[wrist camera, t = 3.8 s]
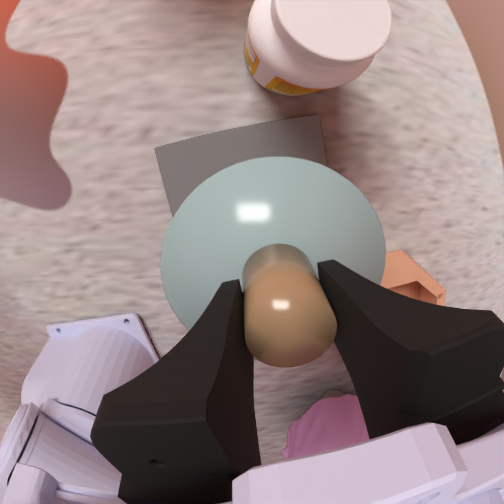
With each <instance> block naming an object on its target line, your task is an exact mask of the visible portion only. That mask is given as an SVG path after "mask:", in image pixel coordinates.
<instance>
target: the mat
mask: <svg viewBox="0 0 504 504" xmlns="http://www.w3.org/2000/svg"><path fill="white" fill-rule="evenodd" d="M154 149H155V153H156V157H157V161H158V165H159V169H160V172H161V176H162V180H163V184H164V187H165V191H166V195H167V198H168V202H169V205H170V209H171V212H172V216H173V217H174V215H175V213H176V212H177V210H178V208H179V207H180V205H181V204H182V203H183V201H184V200H185V198H186V197H187V196H188V195H189V194H190V193H191V192H192V190H193V189H194V188H195V187H196V186H197V185H199V184H200V183H201V182H202V181H204V180H205V179H206V178H207V177H208V176H210V175H212V174H213V173H215V172H217V171H218V170H220V169H222V168H224V167H226V166H228V165H231V164H233V163H235V162H238V161H241V160H245V159H249V158H252V157H259V156H266V155H288V156H295V157H302V158H305V159H309V160H312V161H315V162H318V163H320V164H322V165H324V166H327V162H326V155H325V148H324V142H323V136H322V129H321V123H320V117H319V115H310V116H303V117H296V118H290V119H283V120H277V121H271V122H266V123H260V124H255V125H249V126H244V127H239V128H234V129H230V130H225V131H220V132H216V133H211V134H207V135H203V136H199V137H194V138H190V139H186V140H182V141H179V142H175V143H171V144H167V145H163V146H160V147H156V148H154Z"/></svg>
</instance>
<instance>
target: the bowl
mask: <svg viewBox="0 0 504 504" xmlns="http://www.w3.org/2000/svg"><path fill="white" fill-rule="evenodd" d="M380 286H382V287H385V288H387V289H389V290H391V291H394V292H396V293H399V294H402V295H404V296H407V297H410V298H413V299H417V300H420V301H424V302H428V303H432V304H436V305H441V306H444V305H445V298H446V290H445V289H444V288H443V287H442V286H441V285H440V284H439V283H438V282H437V281H436V280H435V279H434V278H433V277H432V276H431V275H430V274H429V273H428V272H427V271H426V270H425V269H424V268H422V267H421V266H420V265H419V264H418V263H417V262H416V261H414V260H413V259H412V258H411V257H410V256H409V255H407V254H406V253H405V252H404V251H403V250H402V251H401V250H397V251H393V252H389V253H386V258H385V268H384V273H383V278H382V281H381V284H380Z"/></svg>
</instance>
